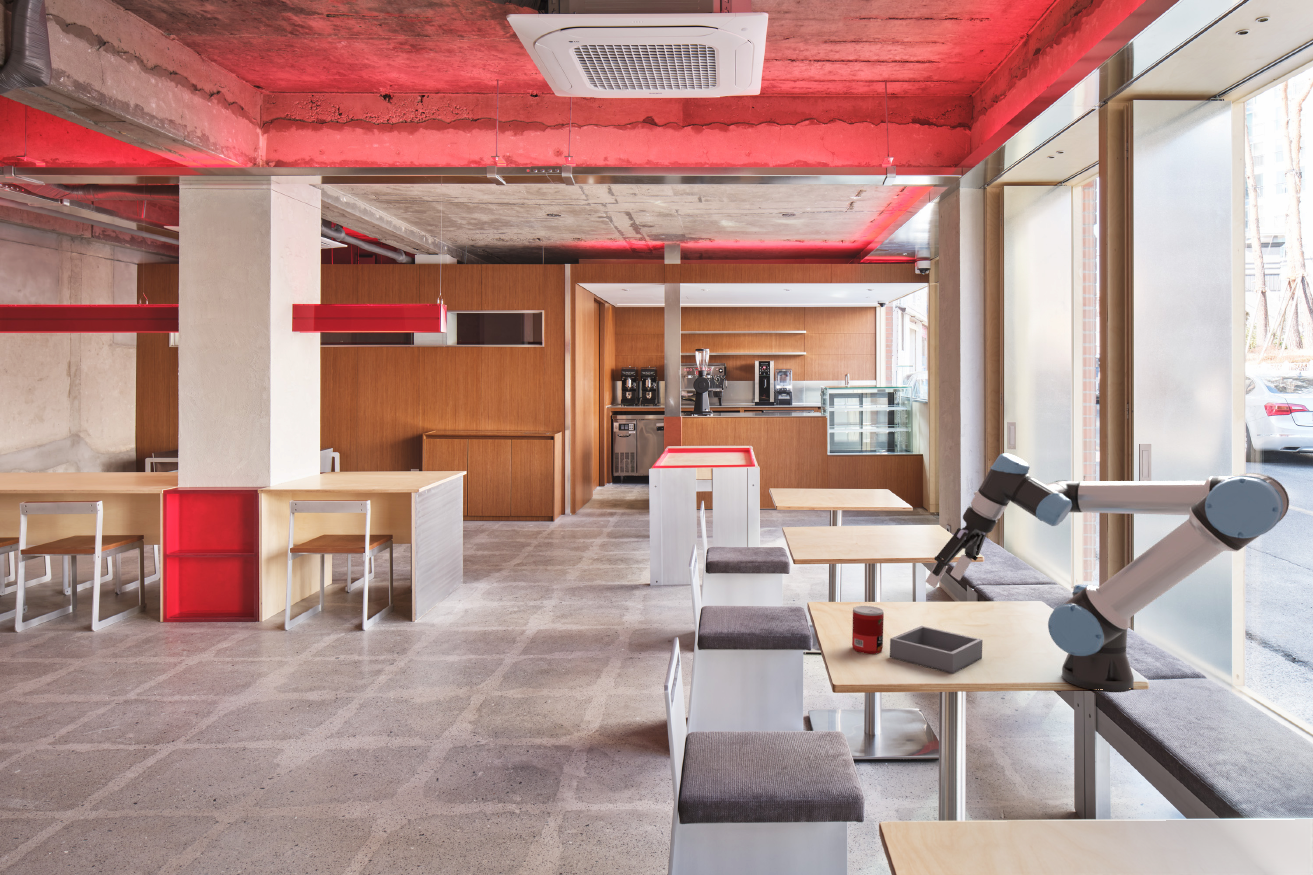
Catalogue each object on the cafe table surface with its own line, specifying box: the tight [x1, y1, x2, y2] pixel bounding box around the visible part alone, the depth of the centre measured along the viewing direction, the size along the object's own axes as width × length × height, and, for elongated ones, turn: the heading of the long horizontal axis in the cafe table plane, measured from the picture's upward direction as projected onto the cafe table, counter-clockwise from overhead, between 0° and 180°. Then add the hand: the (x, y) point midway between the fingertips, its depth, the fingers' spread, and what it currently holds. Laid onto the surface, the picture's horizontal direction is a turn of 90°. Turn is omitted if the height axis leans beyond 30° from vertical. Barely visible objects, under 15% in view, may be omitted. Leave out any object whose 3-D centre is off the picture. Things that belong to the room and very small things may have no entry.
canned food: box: [851, 605, 885, 655], centre depth 216 cm, size 8×8×11 cm
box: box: [889, 625, 983, 675], centre depth 210 cm, size 17×17×5 cm
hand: (942, 580), depth 206 cm, fingers open, 13 cm apart
